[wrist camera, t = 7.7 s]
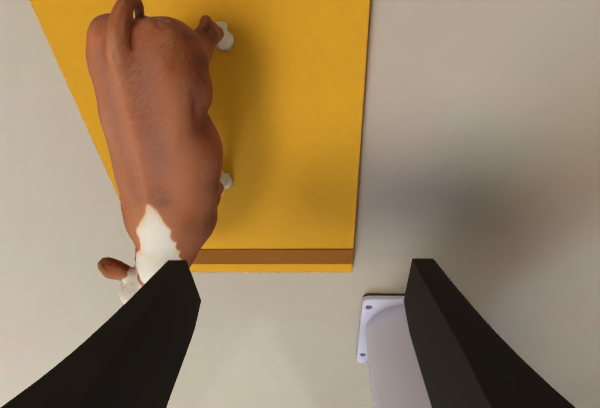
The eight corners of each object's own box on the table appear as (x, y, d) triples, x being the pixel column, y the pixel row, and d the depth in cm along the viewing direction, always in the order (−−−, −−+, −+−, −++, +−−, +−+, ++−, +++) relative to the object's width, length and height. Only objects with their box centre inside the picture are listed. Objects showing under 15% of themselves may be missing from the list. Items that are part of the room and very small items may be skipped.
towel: (351, 266, 24) (352, 273, 24) (155, 266, 25) (151, 273, 24) (375, -98, 12) (377, -102, 12) (7, -72, 13) (-7, -74, 13)
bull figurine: (165, 219, 21) (96, 330, 15) (154, -25, 14) (0, -19, 7) (231, 231, 22) (193, 345, 15) (257, 1, 14) (203, 30, 7)
